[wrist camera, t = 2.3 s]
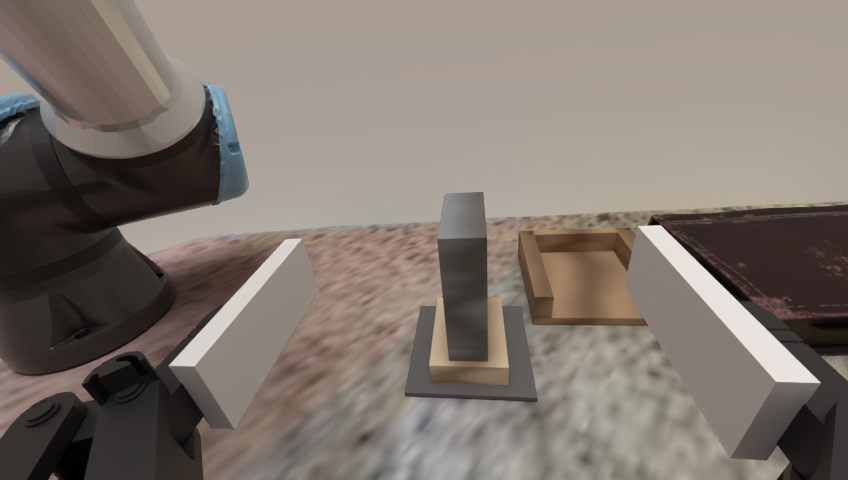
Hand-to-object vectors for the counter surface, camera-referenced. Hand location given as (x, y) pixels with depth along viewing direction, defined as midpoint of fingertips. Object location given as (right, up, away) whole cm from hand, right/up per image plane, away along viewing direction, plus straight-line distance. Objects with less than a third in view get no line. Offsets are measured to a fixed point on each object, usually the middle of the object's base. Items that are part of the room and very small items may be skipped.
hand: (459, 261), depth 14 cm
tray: (+16, -4, +22) cm, 28 cm away
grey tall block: (+3, -8, +16) cm, 19 cm away
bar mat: (+3, -9, +17) cm, 19 cm away
